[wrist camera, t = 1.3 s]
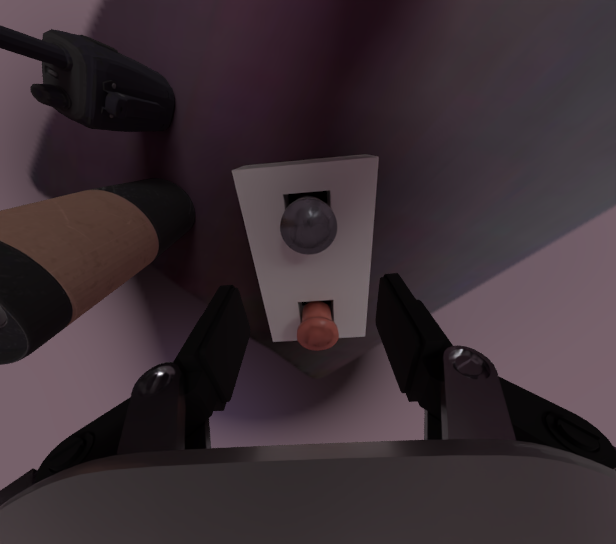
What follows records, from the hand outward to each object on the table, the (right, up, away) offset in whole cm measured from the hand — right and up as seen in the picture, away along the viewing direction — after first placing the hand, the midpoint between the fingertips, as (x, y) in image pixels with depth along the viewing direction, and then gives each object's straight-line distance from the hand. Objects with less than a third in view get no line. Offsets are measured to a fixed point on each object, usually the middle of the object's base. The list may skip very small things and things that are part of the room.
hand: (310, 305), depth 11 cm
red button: (+1, -4, +20) cm, 21 cm away
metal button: (0, +8, +13) cm, 15 cm away
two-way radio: (-15, +19, +12) cm, 27 cm away
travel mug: (-18, +10, +17) cm, 27 cm away
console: (+1, +4, +21) cm, 21 cm away
